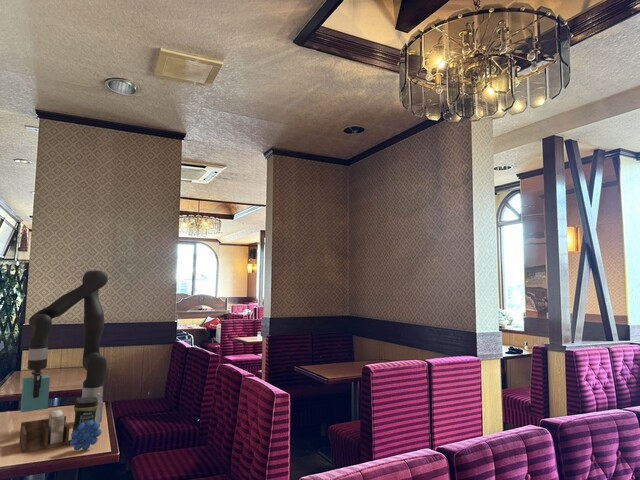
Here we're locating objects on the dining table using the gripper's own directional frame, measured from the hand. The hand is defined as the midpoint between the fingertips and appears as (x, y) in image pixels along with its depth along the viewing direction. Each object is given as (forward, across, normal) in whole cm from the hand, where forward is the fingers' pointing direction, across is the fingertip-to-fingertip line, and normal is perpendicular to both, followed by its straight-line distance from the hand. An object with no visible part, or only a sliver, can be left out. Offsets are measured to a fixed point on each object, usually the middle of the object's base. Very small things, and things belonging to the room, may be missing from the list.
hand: (35, 396), depth 202 cm
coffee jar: (+18, -18, -18) cm, 31 cm away
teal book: (+6, 0, 0) cm, 6 cm away
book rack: (+17, -14, -3) cm, 23 cm away
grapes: (+18, -30, -16) cm, 38 cm away
